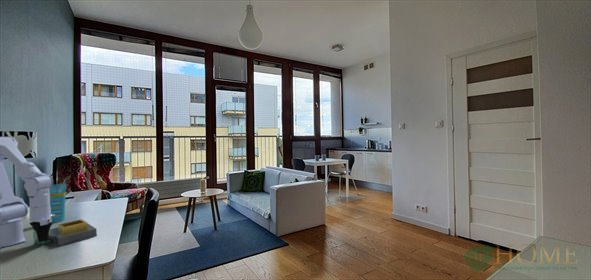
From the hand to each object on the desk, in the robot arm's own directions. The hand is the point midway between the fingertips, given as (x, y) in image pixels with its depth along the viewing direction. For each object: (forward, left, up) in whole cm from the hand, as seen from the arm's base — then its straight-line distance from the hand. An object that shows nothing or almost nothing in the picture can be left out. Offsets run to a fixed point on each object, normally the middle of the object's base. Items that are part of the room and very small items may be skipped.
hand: (41, 239), depth 100 cm
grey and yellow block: (+9, 0, -2) cm, 10 cm away
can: (0, 0, -2) cm, 2 cm away
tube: (+10, +35, -2) cm, 37 cm away
